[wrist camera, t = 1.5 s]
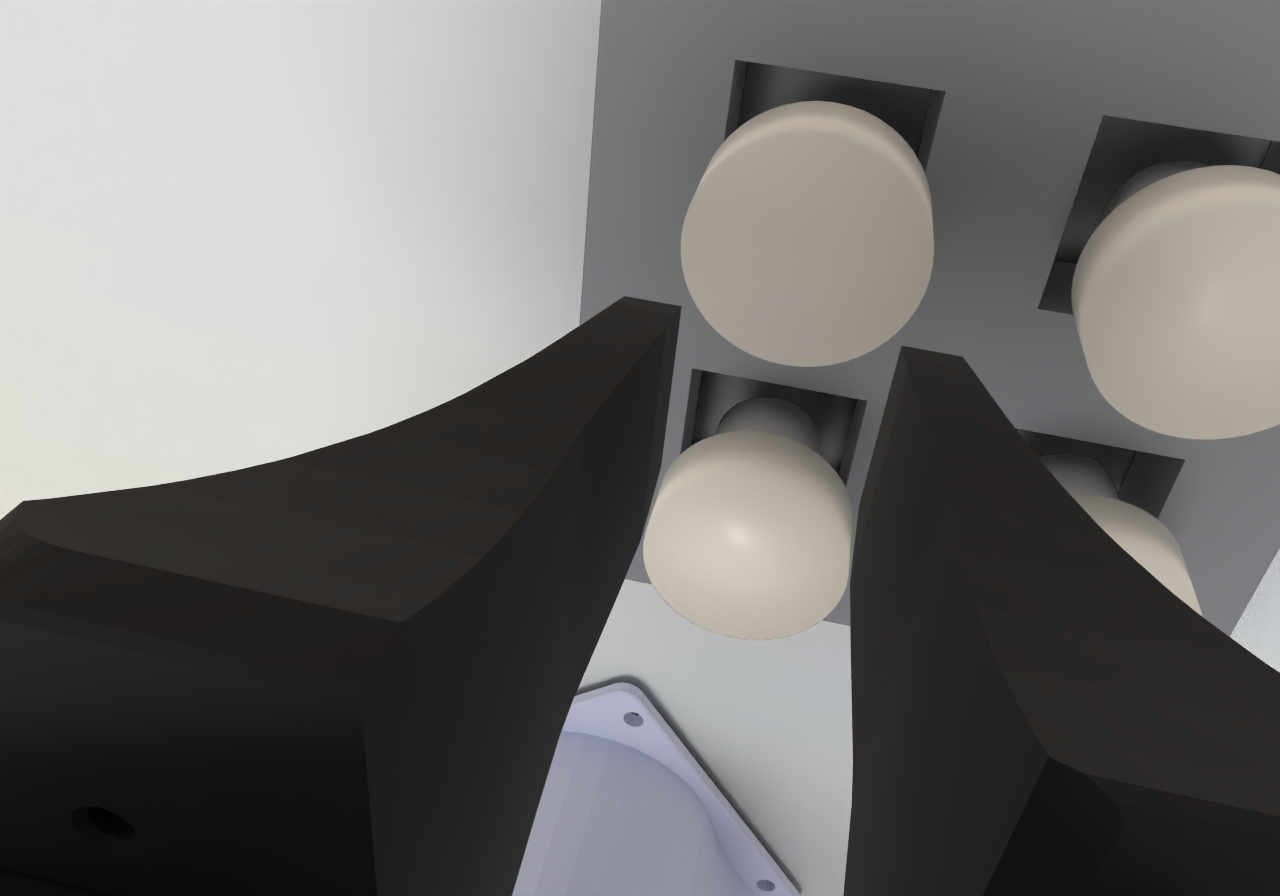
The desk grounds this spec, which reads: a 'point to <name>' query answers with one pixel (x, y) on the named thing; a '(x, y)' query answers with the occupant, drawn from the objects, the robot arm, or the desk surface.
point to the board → (950, 212)
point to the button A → (752, 526)
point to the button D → (1186, 300)
